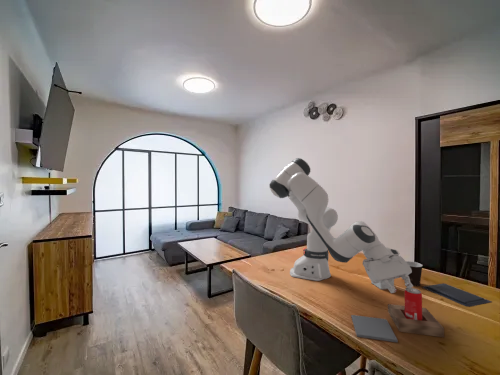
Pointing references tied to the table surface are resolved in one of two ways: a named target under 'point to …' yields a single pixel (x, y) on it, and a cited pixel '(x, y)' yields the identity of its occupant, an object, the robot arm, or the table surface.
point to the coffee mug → (415, 273)
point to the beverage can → (413, 304)
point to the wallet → (457, 295)
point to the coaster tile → (373, 328)
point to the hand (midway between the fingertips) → (402, 289)
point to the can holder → (415, 322)
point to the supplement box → (384, 286)
